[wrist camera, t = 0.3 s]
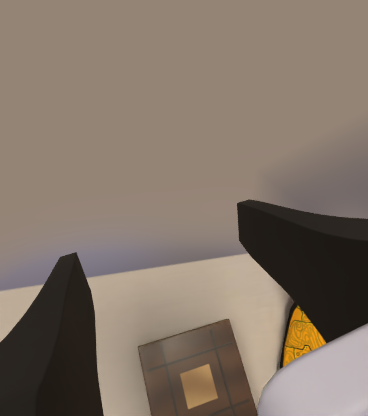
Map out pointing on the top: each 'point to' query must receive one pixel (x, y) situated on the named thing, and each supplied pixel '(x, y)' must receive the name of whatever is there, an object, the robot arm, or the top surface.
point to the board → (197, 374)
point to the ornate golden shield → (299, 336)
